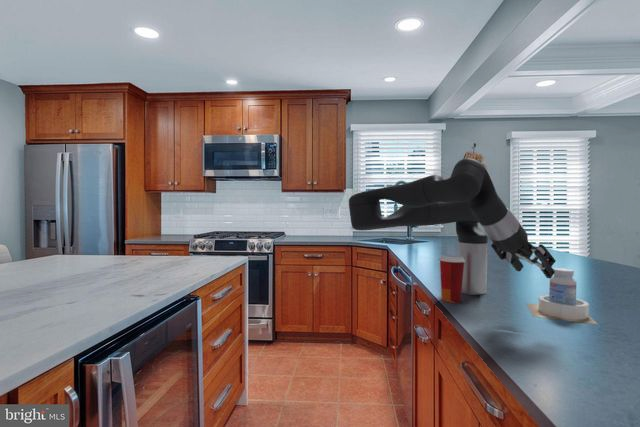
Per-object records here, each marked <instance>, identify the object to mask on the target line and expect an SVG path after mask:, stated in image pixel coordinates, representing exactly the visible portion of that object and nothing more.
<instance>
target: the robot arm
mask: <svg viewBox="0 0 640 427" xmlns="http://www.w3.org/2000/svg"><path fill="white" fill-rule="evenodd" d="M485 167H486V166H484V165H483V164H482V163H481V162H480V161H478V160H477V159H475V158H469V157H468V158H463V159H460V160H458V161H457V163H455V165H454V166H453V169H452V172H451V175H450V176H449V177H448V178H447V179H444V178H443V176H441V175H439V174H431V175H428V176H425V177H422V178H419V179H416V180H413V181H410V182H407V183H402V184H397V185H389V186H386V187H380V188H375V189H370V190H364V191H360V192H357V193H356V194H353V195H352V196H350V197H349V198H348V208H349V210H348V211H349V216H350V217H349V218H350V223H351V227H352V229H354V230H355V231H372V230H381V229H387V228H389V229H390V228H399V227H424V226H425V227H427V226H437V225H445V224H452V223H453V224H454V223H455V231H456V236H457V238H458V240H457V243H458V244H457V245H458V246H457V247H458V248H457V255H459V256H463V258H464V260H465V262H464V270H463V281H462V293H461V294H465V295H471V296H480V295H485V294H486V293H487V282H488V281H487V280H488V279H487V277H488V275H487V274H488V244H489V243H488V241H489V240H488V239H490V241H491V242H492V243H491V245H490V246H491V248H492V249H493V251H494V252H495V253H496V255H497V256H498V258H499V259H500V260H501V261H502V260H506V262H507V263H509V264H511V265H512V267H513V268H514V269H515V271H516V272H521V271H522V269H523V268H524V265H523V263H522V261H521V260H524V261H526V262H527V263H528V264H530V265H535V266H536V267H537V268H539V269H540V271H541V272H542V273H543V275H544V276H545V277H546V279H550V278H552V277H553V276H554V273H555V271H554V270H553V269H554V268H553V265H554V264H555V263H556V261H557V260H556V259H555V258H554V256H553V255H552V254H551V253H550V252H549V250H548V249H547V248H546V247H545V245H543V244H540V243H539V245H538V246H535V245H532V243H530V242H529V240H528V233H527V232H526V230H525V229H524V226H522V224H521V223H520V222H519V221H518V219H517V217H516V216H515V215H514V214H513V212H512V211H511V210H510V209H509V208H508V207H507V206H506V204H505V203H504V201H503V199H501V197H500V195H498V194H497V191H496V187H495V185H494V184H493V183H494V182H493V181H492V178H491V176H490V174H489V172H488V170H487V169H486V168H485ZM380 200H386V201H387V200H388V201H392V202H394V203H397V204H399V205H401V206H400V207H399V208H398V209H397V210H396V211H394V212H392V213H391V214H390V215H388V216H385V217H384V216H383V215H382V208H381V201H380ZM479 224H480V226H481V228H482V229H483V231H481V229H480V228H479ZM533 254H534V256H533ZM532 256H533V258H532V259H531V257H532ZM539 261H540V262H541V263H540V262H539Z"/></svg>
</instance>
